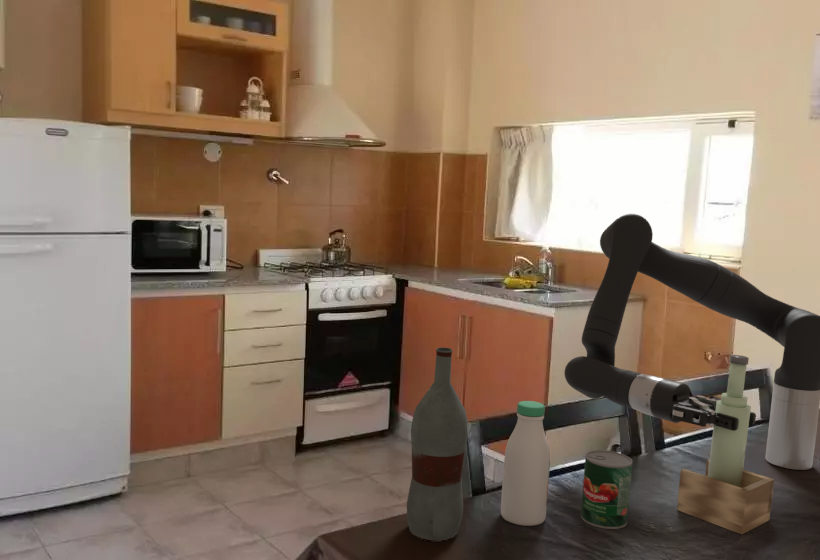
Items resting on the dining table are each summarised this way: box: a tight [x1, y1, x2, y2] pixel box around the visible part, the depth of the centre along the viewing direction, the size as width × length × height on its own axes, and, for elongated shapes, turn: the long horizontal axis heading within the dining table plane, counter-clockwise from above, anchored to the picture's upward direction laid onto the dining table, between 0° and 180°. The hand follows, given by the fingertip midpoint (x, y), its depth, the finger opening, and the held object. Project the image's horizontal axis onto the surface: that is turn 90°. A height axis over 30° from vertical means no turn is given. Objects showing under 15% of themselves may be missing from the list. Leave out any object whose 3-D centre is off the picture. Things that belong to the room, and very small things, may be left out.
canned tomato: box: [580, 449, 633, 530], centre depth 135 cm, size 8×8×11 cm
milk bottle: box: [500, 400, 551, 527], centre depth 133 cm, size 8×8×20 cm
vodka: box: [406, 347, 469, 540], centre depth 125 cm, size 9×9×30 cm
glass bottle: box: [708, 354, 752, 487], centre depth 138 cm, size 6×6×22 cm
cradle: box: [677, 458, 775, 535], centre depth 139 cm, size 12×10×8 cm
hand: (745, 422), depth 136 cm, fingers closed on glass bottle, 5 cm apart
